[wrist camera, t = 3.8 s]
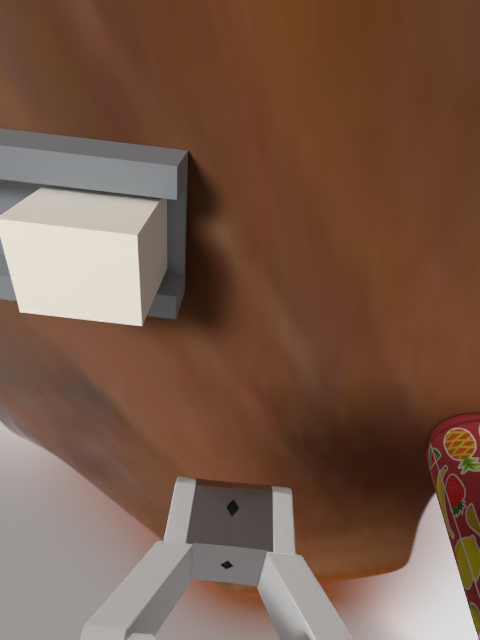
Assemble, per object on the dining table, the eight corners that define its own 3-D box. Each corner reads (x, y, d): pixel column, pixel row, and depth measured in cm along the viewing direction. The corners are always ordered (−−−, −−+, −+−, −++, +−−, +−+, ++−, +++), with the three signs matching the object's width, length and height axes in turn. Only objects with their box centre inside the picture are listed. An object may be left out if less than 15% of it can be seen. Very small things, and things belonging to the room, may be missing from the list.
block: (166, 190, 22) (137, 235, 17) (167, 268, 25) (142, 326, 20) (56, 177, 22) (-5, 218, 17) (69, 256, 25) (19, 312, 20)
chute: (188, 150, 21) (177, 166, 19) (184, 292, 26) (176, 319, 24) (-192, 105, 21) (-254, 115, 19) (-122, 256, 26) (-163, 280, 24)
